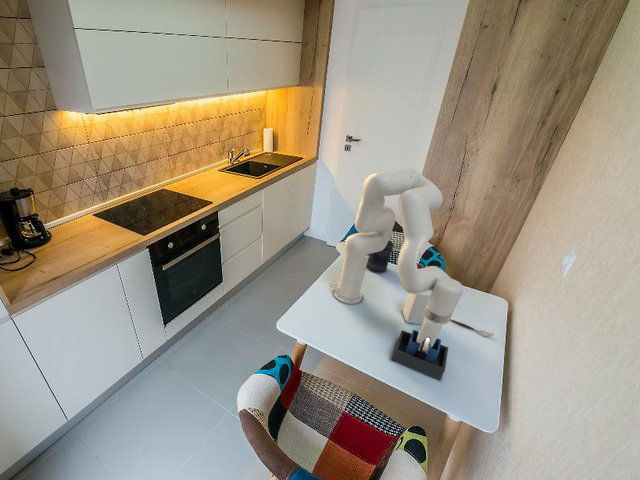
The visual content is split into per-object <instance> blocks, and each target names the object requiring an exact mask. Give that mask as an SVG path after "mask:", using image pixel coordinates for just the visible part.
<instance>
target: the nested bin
mask: <svg viewBox="0 0 640 480" xmlns="http://www.w3.org/2000/svg"><path fill="white" fill-rule="evenodd" d="M418 333H419V330H415V329H413V330H412V332H411V337H410V339H409V342H408V345H407V348H406V352H405V353H408V354H410V355H413V356H415V353H416V351H417V348H418V349H419V346H420V343H417V336H418ZM423 342H425V341H423ZM441 343H442V339H441V338H438V337H437V339H436V341H435V343H434V345H433V346H432V347H429V350H428V354H427V356H426V358H425V361H428V362H430V363H433V364H434V362H435V360H436V358H437V356H438V354H439V350H440V345H442V344H441ZM421 348H423V345H422V346H421Z"/></svg>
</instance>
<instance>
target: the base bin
mask: <svg viewBox="0 0 640 480" xmlns="http://www.w3.org/2000/svg"><path fill="white" fill-rule="evenodd" d="M411 334H412V332H409V331H405V330H400V333H399V336H398V338H397V342H396V345H395V348H394V350H393V354H392V356H391V359H390V361H392V362H394V363H397V364H399V365H401V366H404V367H406V368H409V369H411V370H414V371H416V372H418V373H421V374H423V375H426V376H428V377H431V378H433V379H435V380H438V381H440V380H441V378H442V377H443V375H444V374H445V371H446V366H447V360H448V355H449V353H448V352H449V347H448V346H446V345H443V344H441V345H440V350H439V354H438V356H437V358H436V360H435V362H434V364H433V363H430V362H428V361H425V360H423V359H420V358H418V357H415V356H413V355H410V354H408V353H405V352H406V348H407V345H408V342H409V339H410V337H411Z"/></svg>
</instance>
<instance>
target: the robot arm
mask: <svg viewBox="0 0 640 480" xmlns="http://www.w3.org/2000/svg"><path fill="white" fill-rule="evenodd" d="M398 195H399V196H398ZM390 196H398V200H397V204H398V209H399V215H400V220H401V226H402V231H403V236H404V241H403V243H402V245H401V247H400V249H399V253H398V257H397V263H396V264H397V271H398V277H399V282H400V284H401V287H402V288H403V290H405V292H407V293H408V294H409V293H412V294H417V293H421V292H425V291H428V290H432V293H431V295H430V298H429V300H428V303H427V305H426V308H425V310H424V313H423V314H424V316H425V318H424V320H423V322H422V324H420V327H419V329H418V332H419V333H418V336H417V343H420V346H419V349H418V348H417V351H416V353H415V357H418V358H420V359H423V360H425V358H426V356H427V354H428V350H429V347H432V346H433V345H434V343H435V341H436V339H437V338H438V337H439V334H440V333H441V330H442V328H443V326H444V325H447V324H449V322H450V321H451V320H450V319H451V318H452V316H453V315H454V312H455V309H456V307H457V305H458V303H459V301H460V299H461V297H462V295H463V292H464V286H463V284H462V282H460V281H459V280H457V279H454V278H452V277H450V275H448V273H446V272H445V271H444V270H443V269H442V268H441V267H439V266H437V265H429V266H425V267H422V268H418V257H419V255H420V252H421V250H422V249H423V248H424V246H425V245H426V244H427V243H428V242H429V241H430V240H431V239H432V238H433V237H434V234H435V231H434V226H433V223H432V221H433V220H432V216H431V212H434V211H436V210H438V209H440V208H441V206H442V205H443V202H444V196H443V193H442V190H440V188H439V187H438V186H436V184H435V183H434V182H432V181H430V179H428V178H427V177H426V176H424V175H422V174H421V173H420V172H419V171H417V170H415V169H411V168H405V169H404V168H403V169H396V170H394V169H393V170H387V171H385V170H384V171H378V172H374V173H371V174H370V175H368V176H367V177H366V178H365V180H364V182H363V184H362V191H361V198H360V202H359V206H358V209H357V213H356V216H355V220H354V228H355V230H356V231H357V232H356V233H353V234H350V235H348V236H347V238H346V239H345V241H344V257H343V263H342V267H341V273H340V277H339V282H335V281H332V280H330V281H329V284H328V285H329V288H331V289H333V296H334V297H335V299H336V300H338V301H340V302H341V303H344V304H349V305H355V304H359V303H360V302H362V300H363V293H362V292H361V288H362V285H363V280H364V278H365V273H366V270H367V260H366V258H365V257H366V256H367V255H370V254H371V253H375V252H379V251H382V250H383V249H384V248H385V247H386V245H387V243H388V240H389V241H390V237H391V234H392V232H393V229H394V226H395V223H396V215H395V212H394V210H393V209H392V208H391V207H389V206H385V197H390ZM423 341H425V342H423ZM422 345H423V348H421V346H422Z"/></svg>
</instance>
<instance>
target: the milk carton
mask: <svg viewBox="0 0 640 480" xmlns="http://www.w3.org/2000/svg"><path fill="white" fill-rule="evenodd" d="M431 293H432V290H428V291H425V292H421V293H417V294H412V293H409V292H408V296H407V298H406V301H405V304H404V307H403V309H402V313H403V317H404V320H405V323H407V324H413V325H414V324H415V325H421V324H422V322H423V320H424V318H425V316H424V314H423V313H424V310H425V308H426V305H427V303H428V300H429V298H430V295H431Z"/></svg>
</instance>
